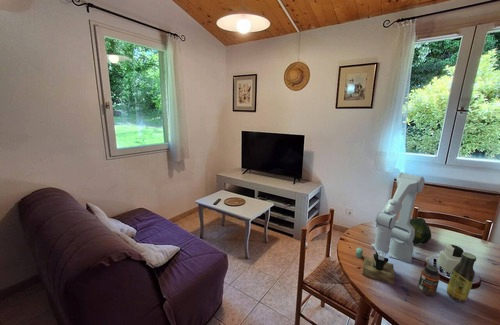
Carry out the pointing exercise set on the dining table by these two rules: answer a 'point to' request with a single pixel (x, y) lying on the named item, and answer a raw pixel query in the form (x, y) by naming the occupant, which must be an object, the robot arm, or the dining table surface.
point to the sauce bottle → (462, 278)
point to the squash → (420, 231)
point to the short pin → (359, 252)
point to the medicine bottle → (450, 257)
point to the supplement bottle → (429, 280)
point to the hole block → (383, 275)
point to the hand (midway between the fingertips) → (378, 264)
